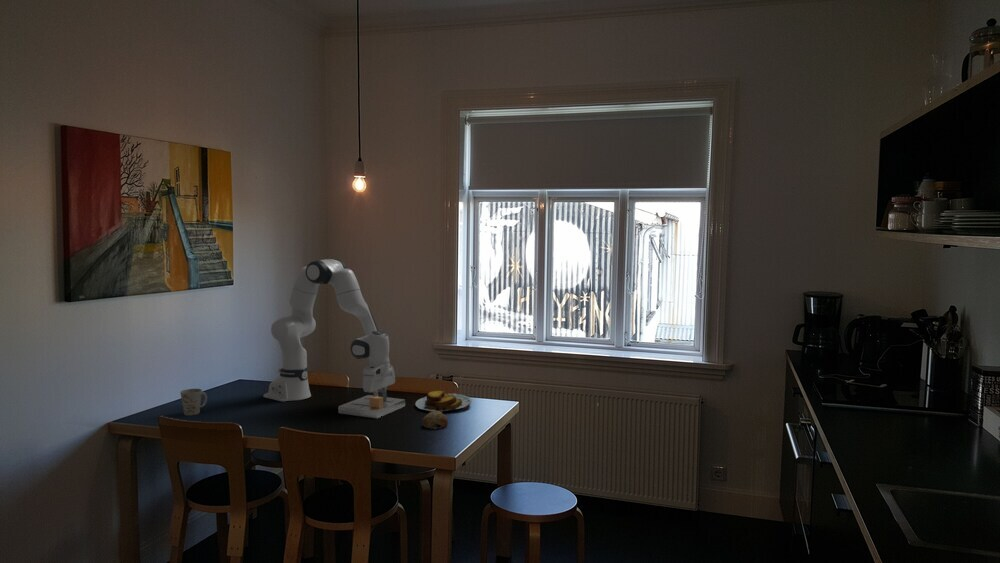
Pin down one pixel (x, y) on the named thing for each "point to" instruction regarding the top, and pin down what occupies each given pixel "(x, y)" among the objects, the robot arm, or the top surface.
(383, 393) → the black fader
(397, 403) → the mixing panel
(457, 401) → the food on plate
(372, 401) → the orange fader
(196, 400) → the mug
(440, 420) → the bread roll
